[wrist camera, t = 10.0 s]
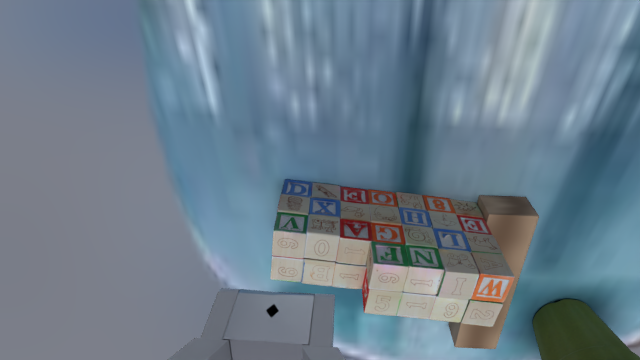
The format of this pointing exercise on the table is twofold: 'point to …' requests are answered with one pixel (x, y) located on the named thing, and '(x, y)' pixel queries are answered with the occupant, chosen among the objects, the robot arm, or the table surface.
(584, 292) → the table surface
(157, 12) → the table surface
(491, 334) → the board
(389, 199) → the stack of blocks
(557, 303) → the plant pot
